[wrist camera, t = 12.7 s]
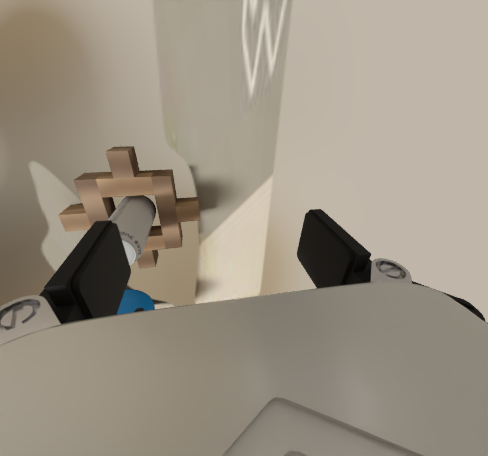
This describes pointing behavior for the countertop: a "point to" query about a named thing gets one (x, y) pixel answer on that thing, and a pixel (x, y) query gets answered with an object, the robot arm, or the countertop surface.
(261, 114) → the countertop surface
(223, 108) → the countertop surface
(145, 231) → the energy drink can
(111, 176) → the cross socket stand
